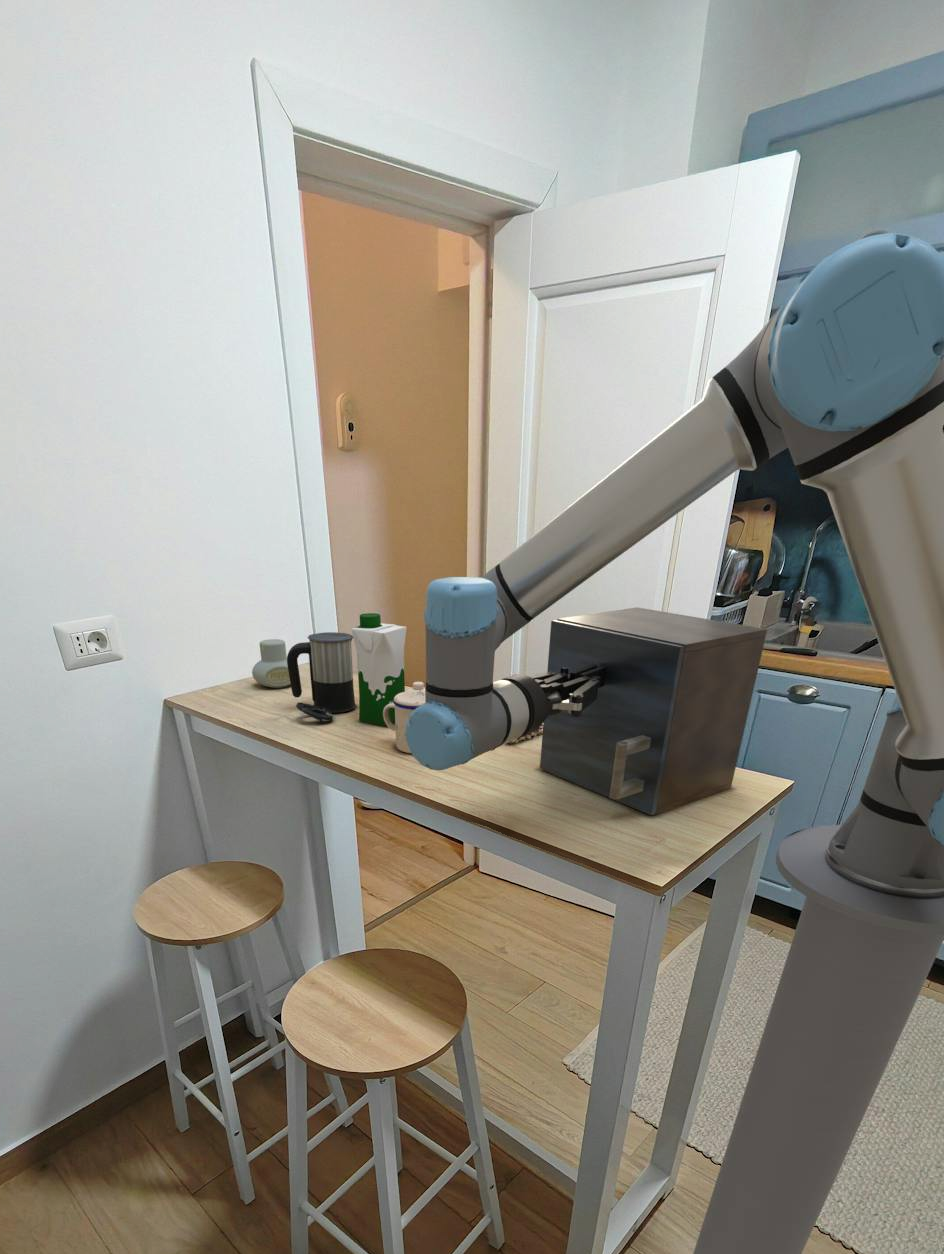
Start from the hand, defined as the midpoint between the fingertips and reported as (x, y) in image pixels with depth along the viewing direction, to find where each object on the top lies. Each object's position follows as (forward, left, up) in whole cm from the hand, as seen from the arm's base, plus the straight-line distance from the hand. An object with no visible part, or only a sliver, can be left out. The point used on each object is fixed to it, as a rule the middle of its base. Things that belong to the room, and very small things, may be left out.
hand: (598, 675), depth 103 cm
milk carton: (+51, +6, -18) cm, 55 cm away
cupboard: (-1, -11, -18) cm, 21 cm away
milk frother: (+62, +13, -18) cm, 66 cm away
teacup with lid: (+34, +10, -18) cm, 40 cm away
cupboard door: (-1, +2, -18) cm, 18 cm away
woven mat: (+29, -9, -18) cm, 35 cm away
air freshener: (+90, +12, -18) cm, 93 cm away
